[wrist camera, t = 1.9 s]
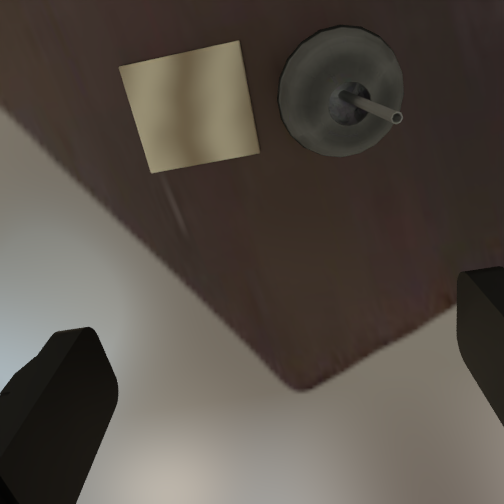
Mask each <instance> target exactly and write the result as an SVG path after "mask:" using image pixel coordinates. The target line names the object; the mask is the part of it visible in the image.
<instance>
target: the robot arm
mask: <svg viewBox="0 0 504 504" xmlns="http://www.w3.org/2000/svg"><path fill="white" fill-rule="evenodd" d="M457 341H458V346H459V349H460V353H461V356H462V358H463V360H464V362H465V364H466V366H467V367H468V369H469V371H470V372H471V374H472V376H473V377H474V379H475V380H476V382H477V384H478V385H479V387H480V389H481V390H482V392H483V393H484V395H485V397H486V398H487V400H488V402H489V403H490V405H491V407H492V408H493V410H494V412H495V413H496V415H497V416H498V418H499V420H500V421H501V423H502V424H503V426H504V268H503V267H500V266H498V267H491V268H484V269H478V270H471V271H464V272H461V273H460V274H459V276H458V280H457ZM117 401H118V383H117V379H116V376H115V374H114V372H113V369H112V367H111V365H110V362H109V360H108V358H107V356H106V353H105V351H104V349H103V346H102V344H101V342H100V340H99V337H98V335H97V333H96V332H95V330H94V329H92V328H90V327H84V328H78V329H71V330H65V331H58V332H55V333H54V334H53V335H52V336H51V337H50V339H49V340H48V341H47V343H46V344H45V346H44V347H43V348H42V350H41V351H40V352H39V354H38V355H37V356H36V357H34V358H33V359H32V360H31V361H30V362H29V363H27V364H26V365H25V366H24V367H22V368H21V369H20V370H19V371H18V372H16V373H15V374H14V375H13V377H12V378H11V379H10V381H9V382H8V383H7V385H6V386H5V387H4V389H3V390H2V391H1V393H0V504H76V502H77V500H78V497H79V495H80V492H81V490H82V488H83V485H84V483H85V480H86V478H87V475H88V473H89V471H90V468H91V466H92V463H93V461H94V458H95V456H96V454H97V451H98V449H99V446H100V444H101V441H102V439H103V437H104V434H105V432H106V429H107V427H108V425H109V422H110V420H111V418H112V415H113V413H114V410H115V408H116V405H117Z"/></svg>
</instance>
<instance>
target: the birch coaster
mask: <svg viewBox="0 0 504 504" xmlns="http://www.w3.org/2000/svg"><path fill="white" fill-rule="evenodd" d="M119 70H120V73H121V77H122V80H123V83H124V87H125V90H126V93H127V96H128V100H129V103H130V106H131V109H132V113H133V116H134V119H135V122H136V126H137V129H138V132H139V135H140V139H141V142H142V145H143V148H144V152H145V155H146V158H147V161H148V165H149V168H150V171H151V173H155V172H161V171H166V170H172V169H177V168H183V167H188V166H193V165H199V164H204V163H210V162H215V161H221V160H226V159H232V158H237V157H242V156H248V155H253V154H259V153H260V147H259V142H258V136H257V131H256V126H255V120H254V115H253V109H252V104H251V99H250V93H249V88H248V83H247V77H246V72H245V67H244V61H243V56H242V51H241V45H240V40H239V41H234V42H230V43H225V44H221V45H216V46H212V47H207V48H202V49H198V50H193V51H189V52H184V53H180V54H175V55H171V56H166V57H161V58H157V59H152V60H148V61H143V62H139V63H134V64H130V65H125V66H120V67H119Z"/></svg>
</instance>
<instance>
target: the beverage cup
mask: <svg viewBox="0 0 504 504" xmlns="http://www.w3.org/2000/svg"><path fill="white" fill-rule="evenodd" d="M403 95H404V89H403V75H402V71H401V69H400V66H399V64H398V61H397V59H396V57H395V54H394V52H393V50H392V49H391V48H390V47H389V46H388V45H387V44H386V43H385V41H384V40H383V39H382V38H381V37H380V36H379V35H377V34H375V33H373V32H371V31H369V30H367V29H365V28H363V27H359V26H349V25H337V26H333V27H329V28H326V29H322V30H319V31H317V32H316V33H314V34H313V35H311V36H310V37H308V38H307V39H305V40H304V41H302V42H301V43H300V44H299V45H298V47H297V48H296V49H295V50H294V51H293V53H292V54H291V55H290V56H289V58H288V59H287V61H286V64H285V66H284V68H283V71H282V73H281V75H280V78H279V85H278V95H277V101H278V106H279V111H280V116H281V120H282V121H283V123H284V125H285V127H286V129H287V130H288V132H289V134H290V135H291V136H292V137H293V138H294V139H295V140H296V141H297V142H298V143H299V144H301V145H302V146H303V147H304V148H306V149H309V150H311V151H313V152H316V153H318V154H321V155H324V156H334V157H345V156H350V155H354V154H359V153H361V152H363V151H365V150H366V149H368V148H370V147H372V146H374V145H376V144H377V143H378V142H379V141H380V140H381V139H382V138H383V137H384V136H385V135H386V134H387V133H388V132H389V131H390V129H391V127H392V126H393V124H398V123H400V122H401V121H402V119H403V116H402V113H400V108H401V104H402V100H403Z"/></svg>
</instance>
